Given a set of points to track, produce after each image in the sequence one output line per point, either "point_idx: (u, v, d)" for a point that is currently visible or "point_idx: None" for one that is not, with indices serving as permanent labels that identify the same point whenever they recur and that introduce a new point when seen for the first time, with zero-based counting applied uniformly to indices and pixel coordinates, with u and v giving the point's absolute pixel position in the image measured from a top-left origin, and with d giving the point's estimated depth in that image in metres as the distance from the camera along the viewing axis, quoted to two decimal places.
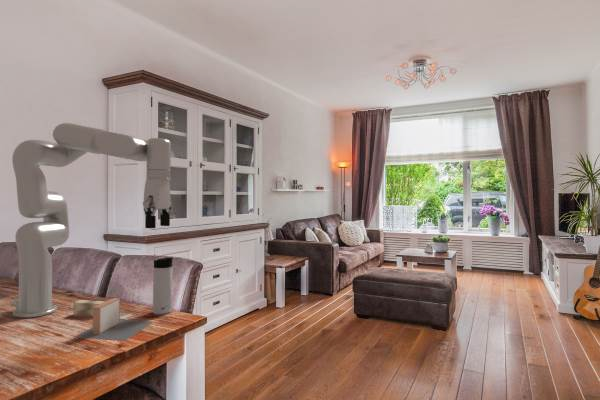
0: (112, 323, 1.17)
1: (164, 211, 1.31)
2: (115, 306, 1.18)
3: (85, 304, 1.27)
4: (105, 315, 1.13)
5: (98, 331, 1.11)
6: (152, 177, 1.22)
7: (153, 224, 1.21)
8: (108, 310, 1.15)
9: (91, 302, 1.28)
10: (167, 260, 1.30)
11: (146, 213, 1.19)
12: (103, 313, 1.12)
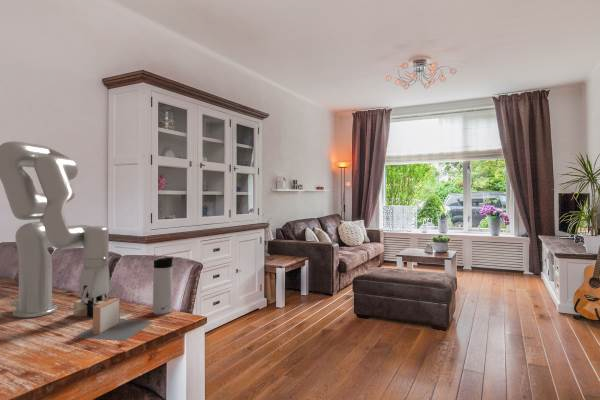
0: (112, 323, 1.17)
1: (98, 299, 1.31)
2: (115, 306, 1.18)
3: (85, 304, 1.27)
4: (105, 315, 1.13)
5: (98, 331, 1.11)
6: (88, 266, 1.25)
7: None
8: (108, 310, 1.15)
9: None
10: (167, 260, 1.30)
11: (87, 305, 1.25)
12: (103, 313, 1.12)
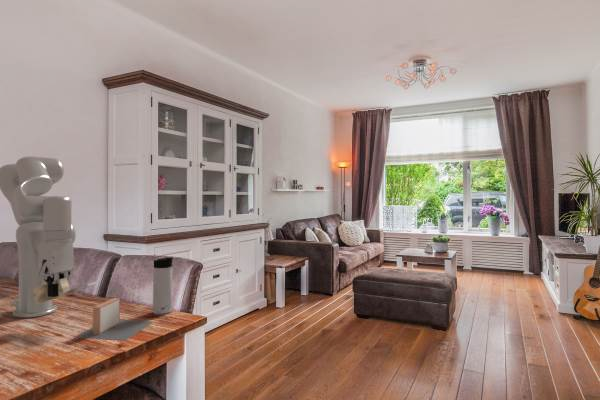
0: (112, 323, 1.17)
1: (61, 277, 1.19)
2: (115, 306, 1.18)
3: (44, 286, 1.16)
4: (105, 315, 1.13)
5: (98, 331, 1.11)
6: (47, 239, 1.14)
7: (55, 292, 1.15)
8: (108, 310, 1.15)
9: None
10: (167, 260, 1.30)
11: (47, 282, 1.14)
12: (103, 313, 1.12)
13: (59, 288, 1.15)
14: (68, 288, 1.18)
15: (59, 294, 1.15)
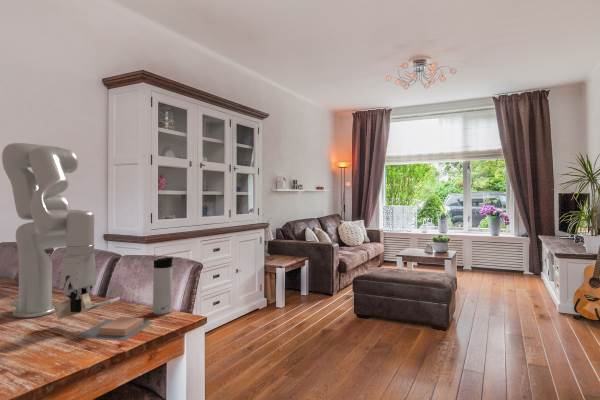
0: None
1: (84, 291, 1.19)
2: None
3: (66, 301, 1.15)
4: None
5: (102, 333, 1.10)
6: (71, 255, 1.13)
7: (78, 308, 1.14)
8: None
9: None
10: (167, 260, 1.30)
11: (70, 297, 1.13)
12: None
13: (81, 303, 1.15)
14: (90, 303, 1.17)
15: (81, 310, 1.15)
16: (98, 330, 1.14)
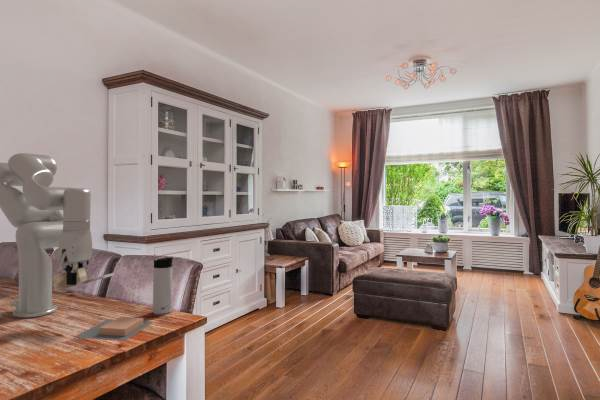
0: None
1: (80, 266, 1.24)
2: None
3: (63, 274, 1.21)
4: None
5: (102, 333, 1.10)
6: (67, 229, 1.18)
7: (74, 281, 1.19)
8: None
9: None
10: (167, 260, 1.30)
11: (66, 270, 1.18)
12: None
13: None
14: (85, 277, 1.22)
15: (76, 283, 1.20)
16: (98, 330, 1.14)
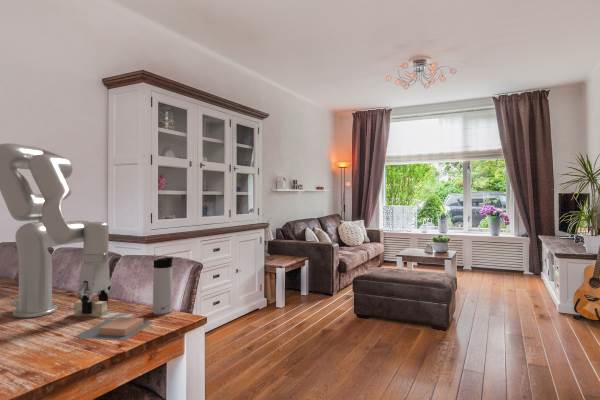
0: None
1: (103, 291, 1.33)
2: None
3: None
4: None
5: (102, 333, 1.10)
6: (88, 262, 1.25)
7: (89, 310, 1.24)
8: None
9: (92, 302, 1.28)
10: (167, 260, 1.30)
11: (82, 300, 1.23)
12: None
13: (98, 311, 1.27)
14: (106, 311, 1.29)
15: (97, 316, 1.27)
16: (98, 330, 1.14)
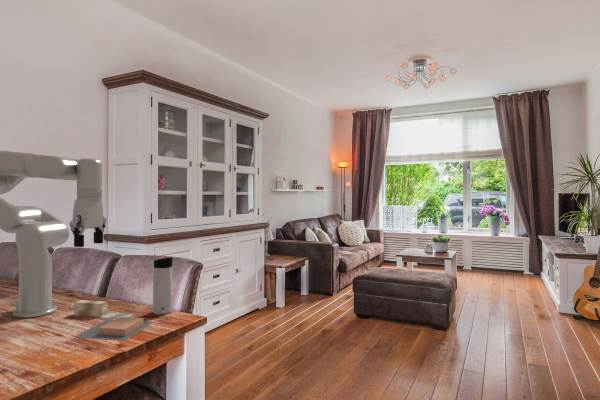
0: None
1: (97, 229, 1.34)
2: None
3: (86, 304, 1.27)
4: None
5: (102, 333, 1.10)
6: (81, 197, 1.25)
7: (81, 243, 1.24)
8: None
9: (92, 302, 1.28)
10: (167, 260, 1.30)
11: (74, 232, 1.23)
12: None
13: (98, 311, 1.27)
14: (106, 311, 1.29)
15: (97, 316, 1.27)
16: (98, 330, 1.14)
